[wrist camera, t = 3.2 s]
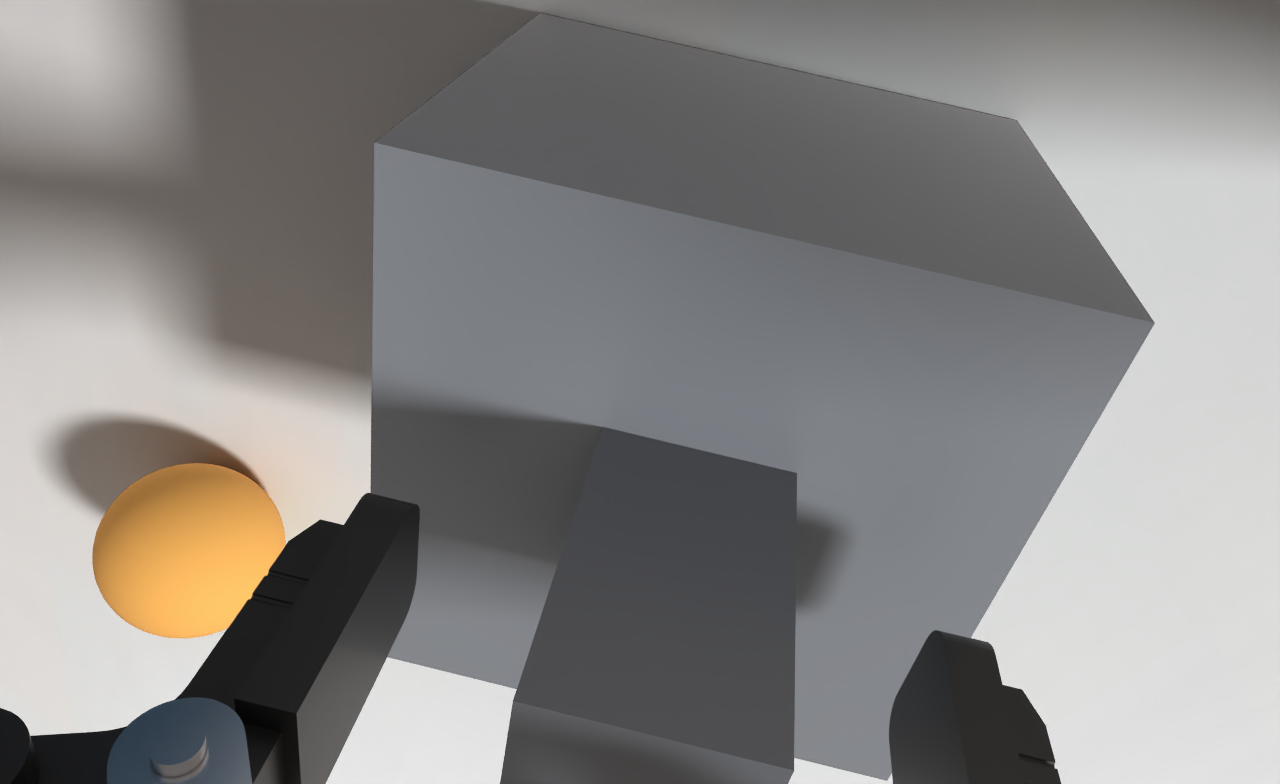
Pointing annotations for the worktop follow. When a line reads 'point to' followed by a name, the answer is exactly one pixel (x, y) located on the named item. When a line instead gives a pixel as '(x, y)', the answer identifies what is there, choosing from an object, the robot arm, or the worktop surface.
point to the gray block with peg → (717, 394)
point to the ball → (186, 549)
